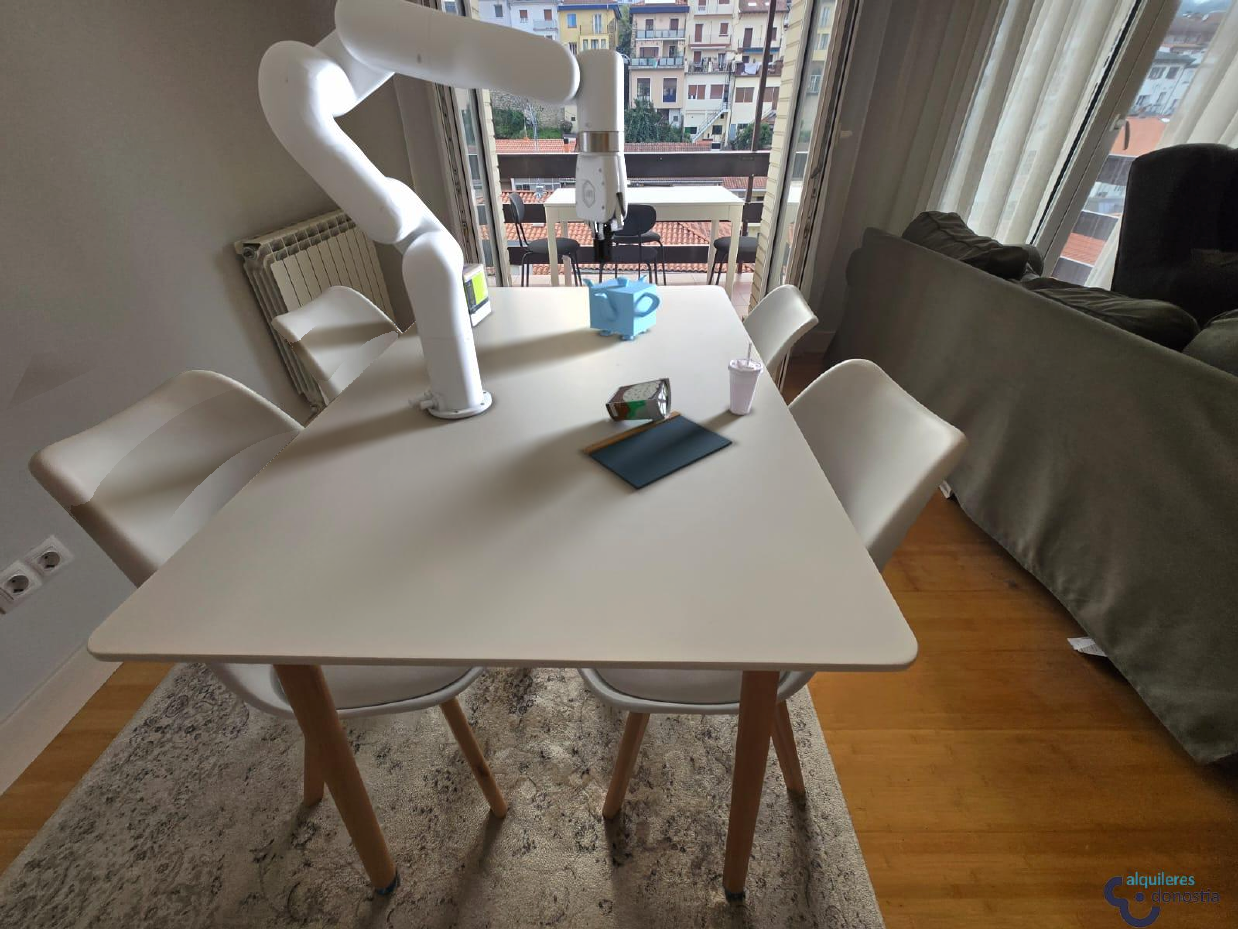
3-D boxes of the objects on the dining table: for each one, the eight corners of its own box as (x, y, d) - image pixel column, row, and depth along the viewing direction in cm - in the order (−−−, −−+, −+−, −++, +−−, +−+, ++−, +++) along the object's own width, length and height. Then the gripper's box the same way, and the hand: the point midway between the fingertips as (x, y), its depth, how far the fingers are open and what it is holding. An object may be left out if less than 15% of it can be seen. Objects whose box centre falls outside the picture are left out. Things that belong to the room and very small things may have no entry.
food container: (611, 438, 93) (663, 431, 90) (602, 407, 91) (656, 399, 87) (628, 412, 104) (675, 406, 100) (621, 384, 101) (669, 376, 98)
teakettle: (664, 340, 135) (666, 283, 127) (595, 346, 132) (593, 288, 124) (645, 319, 151) (646, 267, 143) (583, 324, 148) (580, 271, 140)
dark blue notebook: (637, 489, 78) (637, 485, 78) (584, 452, 88) (583, 448, 88) (732, 443, 90) (732, 439, 89) (675, 414, 99) (675, 410, 99)
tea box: (461, 311, 160) (452, 262, 152) (491, 312, 159) (484, 262, 150) (440, 326, 147) (429, 273, 139) (473, 327, 146) (464, 274, 138)
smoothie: (736, 420, 97) (746, 350, 89) (716, 407, 102) (723, 339, 94) (762, 413, 99) (774, 344, 92) (741, 400, 104) (750, 334, 97)
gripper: (558, 145, 87) (564, 257, 97) (609, 146, 77) (610, 271, 87) (594, 144, 91) (596, 253, 101) (646, 145, 81) (644, 265, 91)
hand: (603, 261), depth 94 cm, fingers closed
